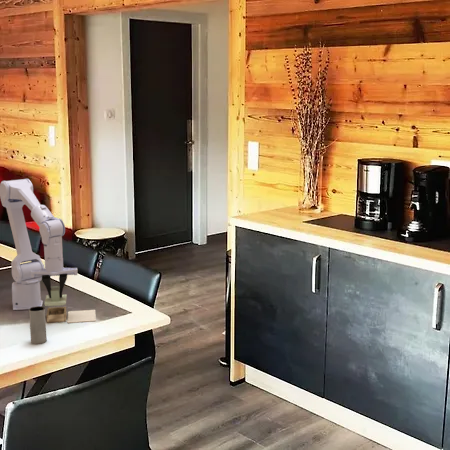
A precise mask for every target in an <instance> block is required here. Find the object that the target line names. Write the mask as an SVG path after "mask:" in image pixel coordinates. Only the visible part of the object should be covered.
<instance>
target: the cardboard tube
mask: <svg viewBox="0 0 450 450" xmlns="http://www.w3.org/2000/svg"><path fill="white" fill-rule="evenodd" d="M28 313H29V314H28V315H29V329H30V330H29V332H30V343H31V344H34V345H40V344H41V345H42V344H45V343H46V342H47V340H48V339H47V318H46V309H45V307H44V306H43V305H42V306H36V307H31V308H30V309H28Z"/></svg>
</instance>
